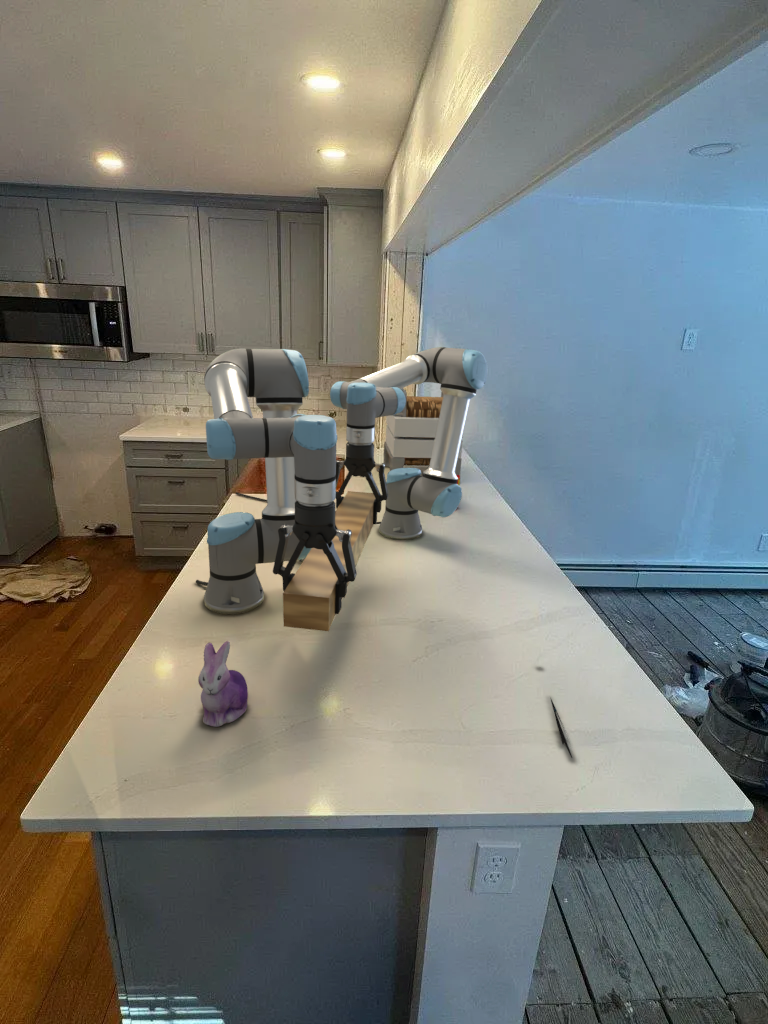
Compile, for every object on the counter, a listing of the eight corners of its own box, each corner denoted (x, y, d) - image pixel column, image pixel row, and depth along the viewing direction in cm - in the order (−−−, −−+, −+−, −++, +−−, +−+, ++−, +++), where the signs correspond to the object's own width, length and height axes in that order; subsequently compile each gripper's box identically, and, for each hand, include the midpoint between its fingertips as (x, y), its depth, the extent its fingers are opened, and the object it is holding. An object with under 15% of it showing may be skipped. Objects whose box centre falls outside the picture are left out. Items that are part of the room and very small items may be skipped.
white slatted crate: (382, 463, 289) (386, 382, 275) (445, 464, 293) (451, 384, 279) (390, 482, 257) (394, 392, 243) (460, 483, 261) (468, 394, 247)
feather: (540, 672, 128) (545, 666, 127) (572, 762, 101) (579, 755, 101) (533, 668, 128) (539, 662, 127) (564, 758, 101) (571, 750, 100)
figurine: (205, 736, 103) (200, 666, 98) (195, 702, 111) (189, 636, 106) (256, 721, 107) (254, 653, 102) (243, 690, 116) (239, 626, 111)
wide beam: (347, 514, 166) (348, 491, 164) (376, 516, 165) (377, 493, 163) (283, 626, 107) (282, 593, 104) (328, 631, 106) (329, 597, 103)
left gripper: (251, 502, 102) (256, 612, 110) (369, 512, 100) (365, 623, 108) (265, 489, 109) (268, 593, 117) (375, 499, 107) (371, 604, 115)
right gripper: (317, 442, 149) (317, 522, 157) (398, 448, 147) (394, 529, 154) (323, 436, 156) (323, 513, 164) (401, 441, 154) (397, 519, 161)
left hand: (314, 608), depth 112 cm, fingers closed on wide beam, 9 cm apart
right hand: (358, 521), depth 159 cm, fingers closed on wide beam, 9 cm apart
